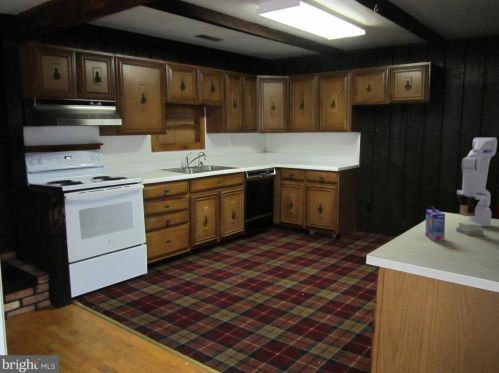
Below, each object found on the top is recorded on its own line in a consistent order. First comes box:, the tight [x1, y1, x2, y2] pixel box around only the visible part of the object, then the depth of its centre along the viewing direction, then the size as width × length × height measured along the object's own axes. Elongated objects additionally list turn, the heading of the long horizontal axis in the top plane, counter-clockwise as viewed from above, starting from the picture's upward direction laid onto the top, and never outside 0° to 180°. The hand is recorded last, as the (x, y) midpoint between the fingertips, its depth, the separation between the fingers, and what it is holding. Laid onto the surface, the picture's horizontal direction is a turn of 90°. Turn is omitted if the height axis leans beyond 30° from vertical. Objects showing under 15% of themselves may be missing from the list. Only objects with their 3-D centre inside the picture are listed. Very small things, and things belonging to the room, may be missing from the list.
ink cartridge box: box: [425, 205, 446, 242], centre depth 182 cm, size 10×6×14 cm, turn 174°
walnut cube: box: [459, 205, 475, 217], centre depth 190 cm, size 4×4×4 cm
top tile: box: [458, 221, 482, 231], centre depth 191 cm, size 6×6×2 cm
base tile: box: [455, 226, 485, 237], centre depth 191 cm, size 8×8×2 cm
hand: (467, 212), depth 190 cm, fingers closed on walnut cube, 4 cm apart
